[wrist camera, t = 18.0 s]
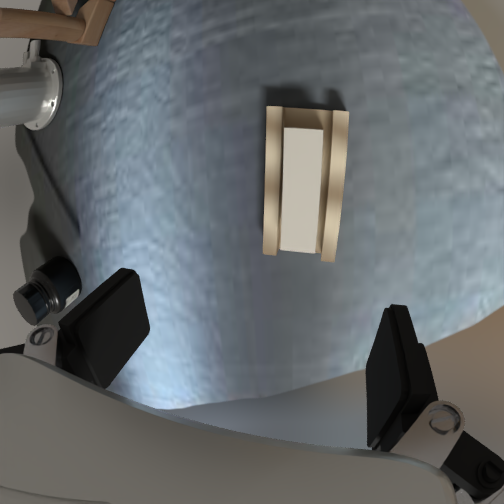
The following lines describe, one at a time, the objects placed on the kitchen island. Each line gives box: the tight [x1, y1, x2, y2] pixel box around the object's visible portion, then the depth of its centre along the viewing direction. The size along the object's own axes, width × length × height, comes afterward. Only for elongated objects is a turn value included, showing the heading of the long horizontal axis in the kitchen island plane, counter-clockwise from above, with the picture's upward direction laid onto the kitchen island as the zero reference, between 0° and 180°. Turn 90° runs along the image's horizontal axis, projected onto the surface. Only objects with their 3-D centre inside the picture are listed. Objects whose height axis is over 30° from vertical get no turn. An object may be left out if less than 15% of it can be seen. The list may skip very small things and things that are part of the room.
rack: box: [263, 106, 349, 262], centre depth 31 cm, size 16×8×3 cm, turn 179°
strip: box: [280, 127, 324, 253], centre depth 29 cm, size 12×4×4 cm, turn 0°
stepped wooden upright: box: [0, 0, 116, 46], centre depth 19 cm, size 4×11×18 cm, turn 157°
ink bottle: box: [13, 256, 82, 326], centre depth 44 cm, size 10×9×12 cm
